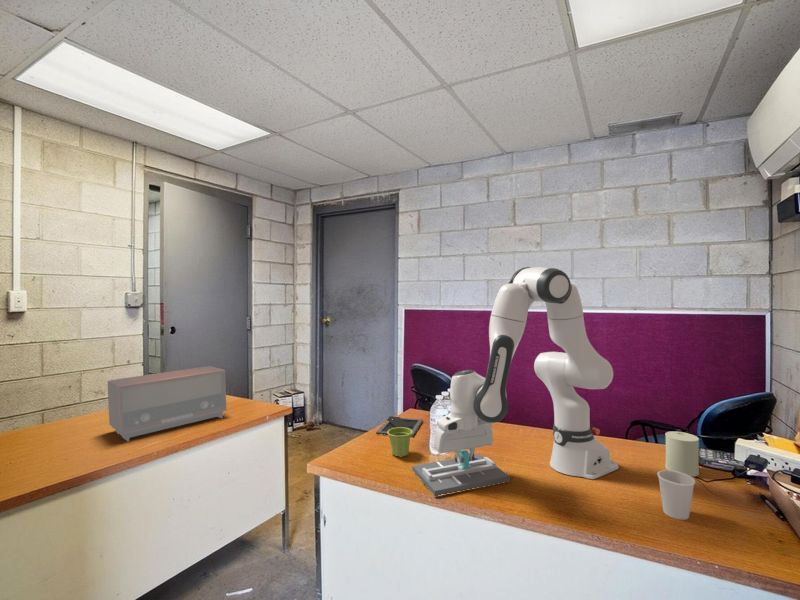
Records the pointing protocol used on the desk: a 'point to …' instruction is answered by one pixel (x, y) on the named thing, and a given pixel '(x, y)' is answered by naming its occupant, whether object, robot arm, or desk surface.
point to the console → (459, 475)
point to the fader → (466, 460)
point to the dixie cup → (676, 493)
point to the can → (682, 453)
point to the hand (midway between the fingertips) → (464, 461)
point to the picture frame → (400, 424)
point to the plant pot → (400, 440)
